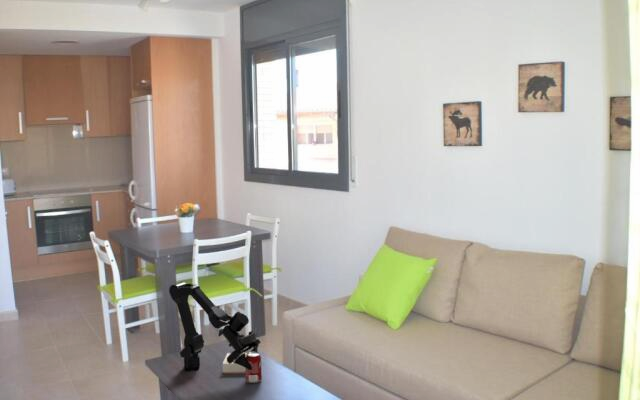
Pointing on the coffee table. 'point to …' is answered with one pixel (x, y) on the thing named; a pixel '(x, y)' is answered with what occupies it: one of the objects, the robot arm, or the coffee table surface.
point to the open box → (232, 366)
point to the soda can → (253, 367)
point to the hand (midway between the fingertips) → (256, 366)
